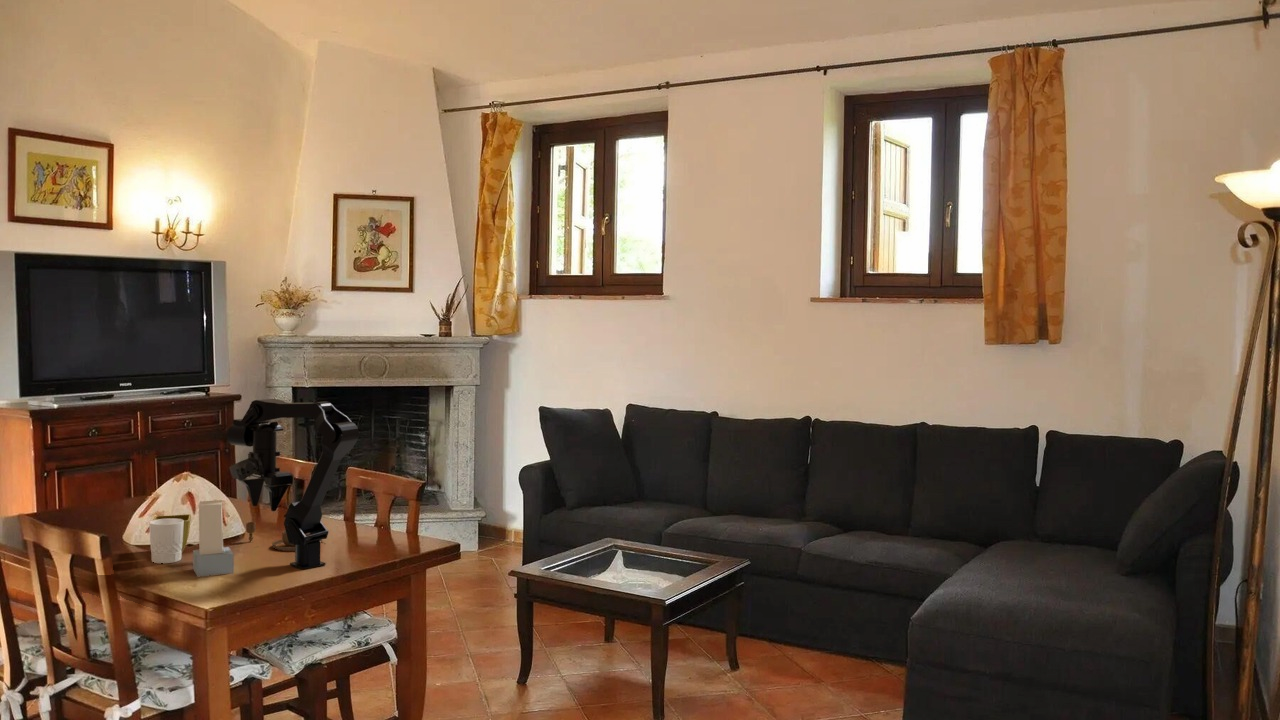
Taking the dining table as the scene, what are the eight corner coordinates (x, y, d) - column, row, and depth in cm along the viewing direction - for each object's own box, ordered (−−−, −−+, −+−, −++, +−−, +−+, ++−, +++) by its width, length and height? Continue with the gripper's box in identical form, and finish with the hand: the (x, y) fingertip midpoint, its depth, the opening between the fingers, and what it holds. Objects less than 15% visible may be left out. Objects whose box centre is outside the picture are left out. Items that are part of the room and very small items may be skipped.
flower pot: (151, 557, 254) (151, 522, 253) (154, 549, 262) (154, 515, 261) (189, 554, 257) (189, 520, 256) (190, 547, 265) (191, 513, 265)
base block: (228, 566, 247) (228, 546, 247) (233, 574, 240) (233, 553, 240) (193, 570, 243) (193, 550, 242) (197, 577, 236) (197, 557, 236)
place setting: (272, 557, 258) (273, 535, 258) (241, 544, 272) (241, 523, 272) (335, 548, 270) (335, 526, 270) (302, 535, 284) (302, 515, 284)
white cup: (142, 563, 247) (142, 524, 246) (159, 556, 254) (159, 517, 254) (173, 564, 246) (173, 525, 246) (189, 557, 254) (189, 518, 254)
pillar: (223, 548, 244) (222, 500, 244) (222, 553, 240) (221, 504, 239) (201, 549, 242) (200, 501, 242) (199, 554, 238) (198, 505, 237)
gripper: (216, 446, 253) (215, 507, 254) (253, 454, 241) (253, 518, 242) (257, 443, 262) (256, 502, 262) (295, 450, 250) (294, 512, 250)
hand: (264, 508), depth 254 cm, fingers open, 9 cm apart
